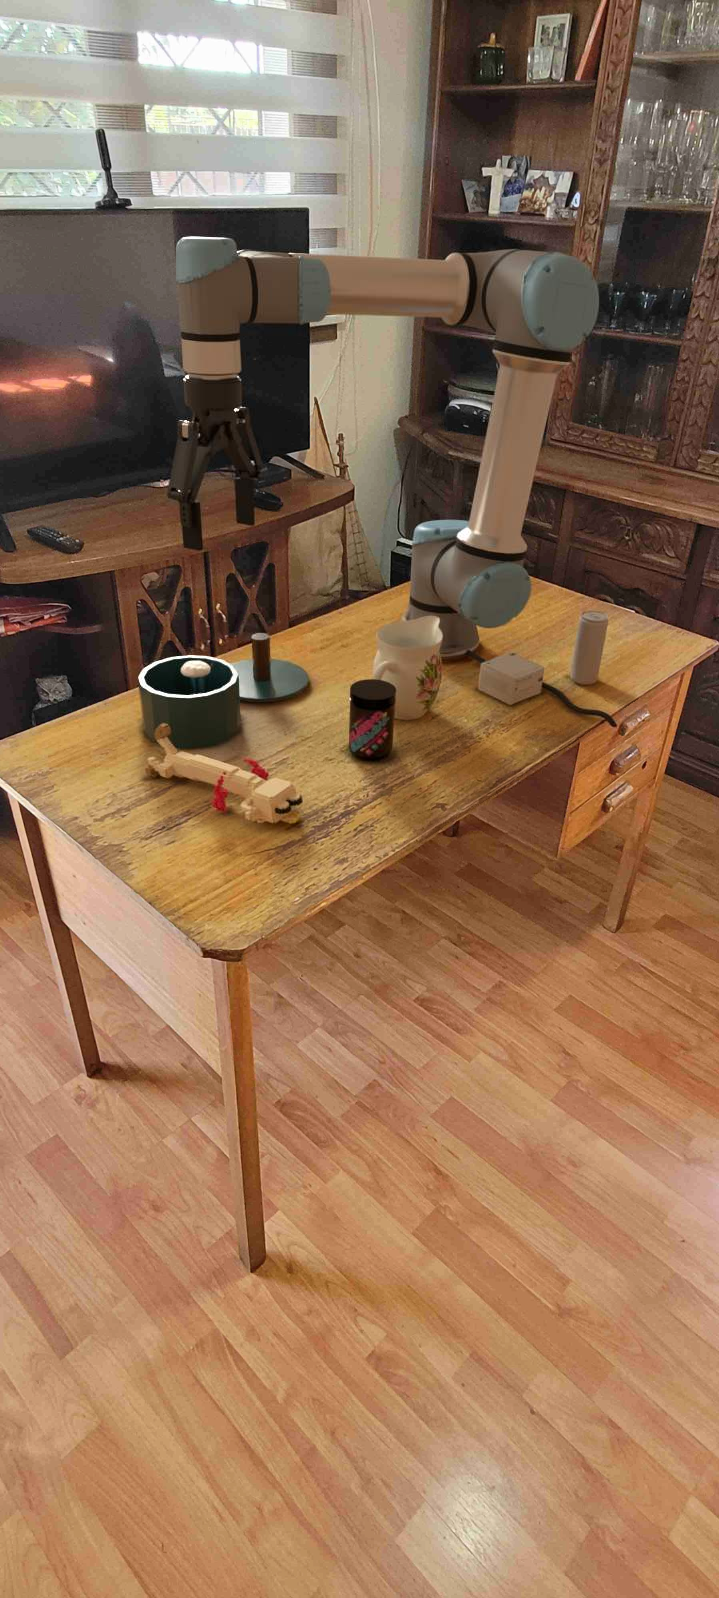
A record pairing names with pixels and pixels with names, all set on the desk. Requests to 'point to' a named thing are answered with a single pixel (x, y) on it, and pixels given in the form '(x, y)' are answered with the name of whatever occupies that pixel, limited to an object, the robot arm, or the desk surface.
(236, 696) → the tin
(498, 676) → the small box
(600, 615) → the beverage can
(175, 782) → the desk surface
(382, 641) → the pitcher
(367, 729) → the supplement container
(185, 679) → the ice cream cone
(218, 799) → the blocky axolotl figure
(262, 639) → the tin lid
